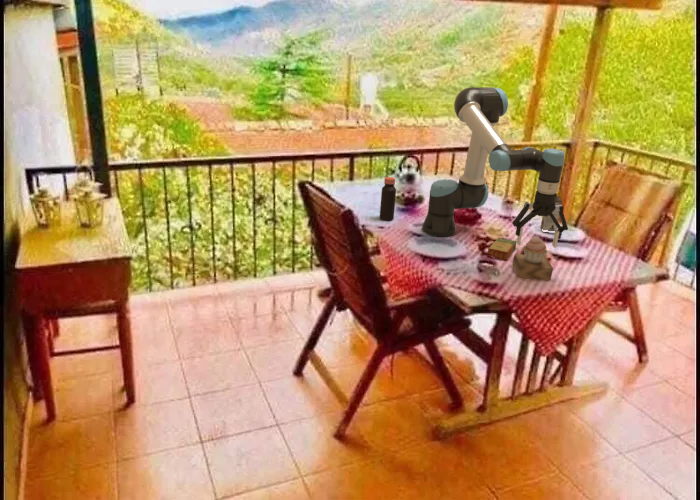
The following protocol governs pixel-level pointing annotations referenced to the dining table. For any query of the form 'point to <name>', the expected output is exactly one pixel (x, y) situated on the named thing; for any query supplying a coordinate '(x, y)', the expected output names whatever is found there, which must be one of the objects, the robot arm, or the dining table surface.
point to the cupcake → (535, 251)
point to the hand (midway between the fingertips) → (536, 245)
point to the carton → (502, 248)
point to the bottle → (388, 200)
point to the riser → (532, 268)
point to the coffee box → (547, 221)
